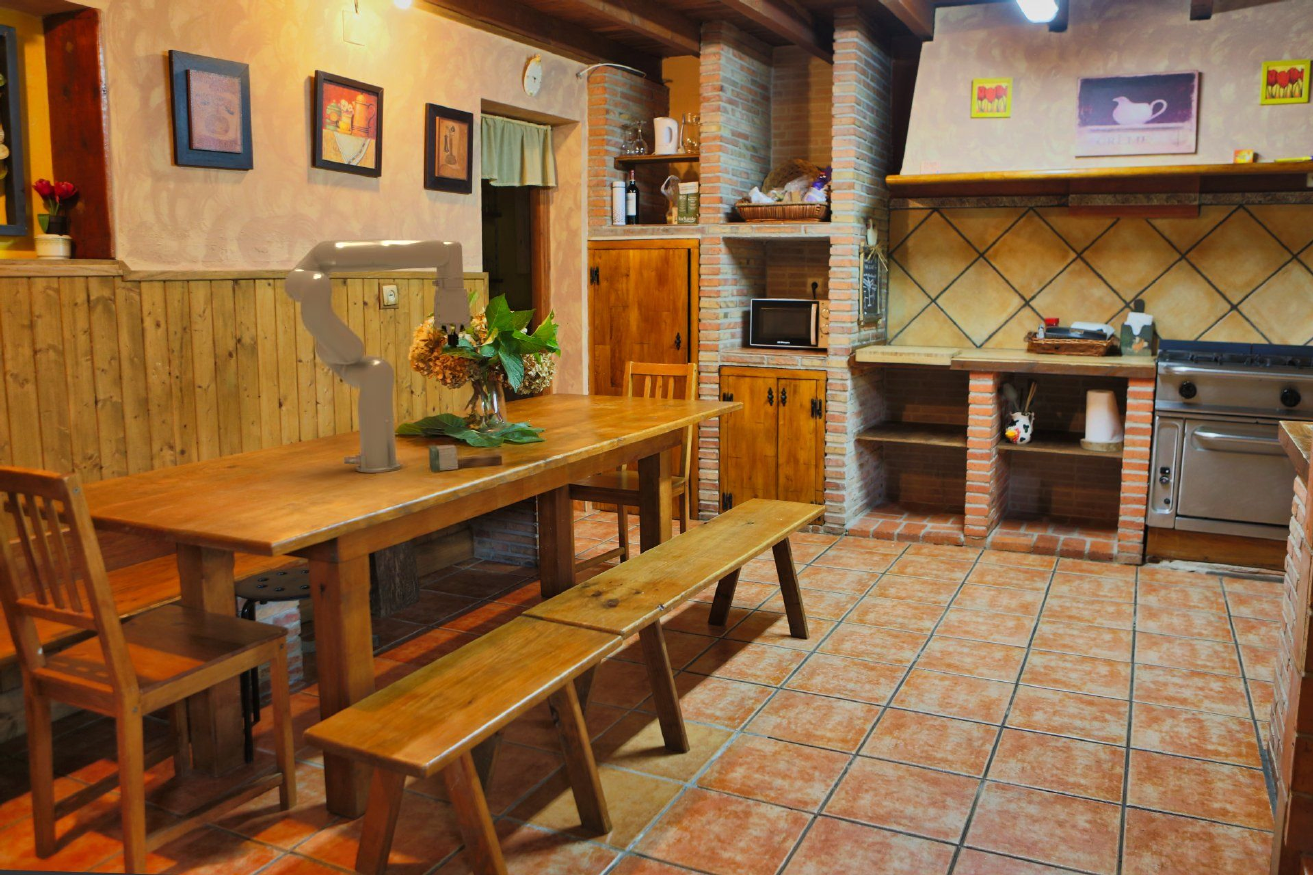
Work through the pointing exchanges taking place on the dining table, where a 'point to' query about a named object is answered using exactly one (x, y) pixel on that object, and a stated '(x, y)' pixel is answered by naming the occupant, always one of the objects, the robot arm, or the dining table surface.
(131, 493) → the dining table surface
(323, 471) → the dining table surface
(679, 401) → the dining table surface
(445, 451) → the keeper
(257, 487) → the dining table surface
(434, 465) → the rail
